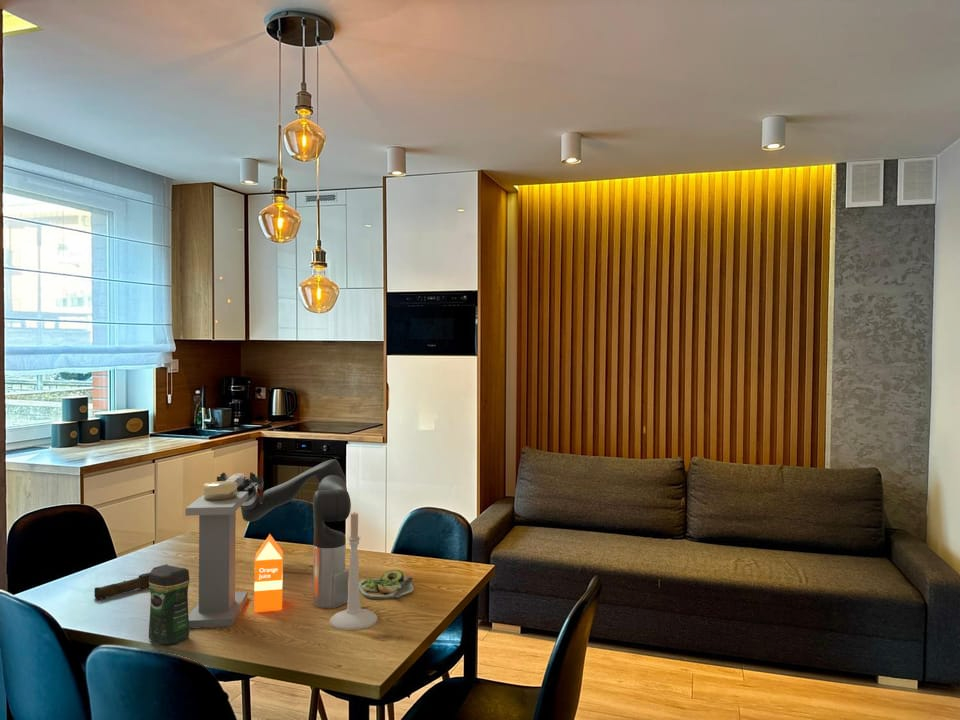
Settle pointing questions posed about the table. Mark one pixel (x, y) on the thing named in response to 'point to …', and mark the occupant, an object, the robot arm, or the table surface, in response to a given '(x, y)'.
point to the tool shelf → (217, 562)
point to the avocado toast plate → (387, 585)
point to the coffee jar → (169, 604)
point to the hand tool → (122, 587)
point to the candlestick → (353, 591)
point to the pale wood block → (223, 488)
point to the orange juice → (268, 577)
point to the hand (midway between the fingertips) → (237, 475)
